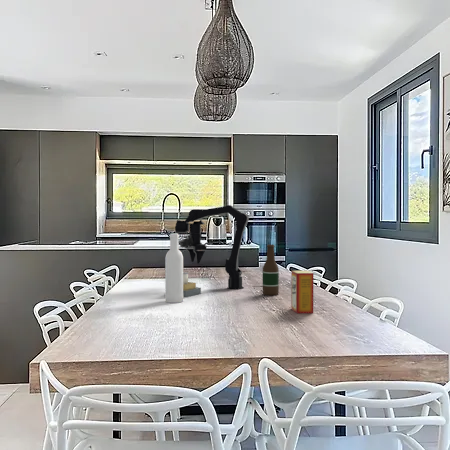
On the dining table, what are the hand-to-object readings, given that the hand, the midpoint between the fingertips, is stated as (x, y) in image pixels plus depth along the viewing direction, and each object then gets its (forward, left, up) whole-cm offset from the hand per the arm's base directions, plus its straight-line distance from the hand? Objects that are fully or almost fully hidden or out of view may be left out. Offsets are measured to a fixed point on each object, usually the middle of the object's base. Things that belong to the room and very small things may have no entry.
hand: (195, 262), depth 256 cm
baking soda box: (-73, +28, -13) cm, 79 cm away
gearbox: (-8, +22, -13) cm, 27 cm away
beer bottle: (-44, -1, -13) cm, 46 cm away
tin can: (-9, +22, -10) cm, 26 cm away
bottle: (-17, +39, -13) cm, 44 cm away
